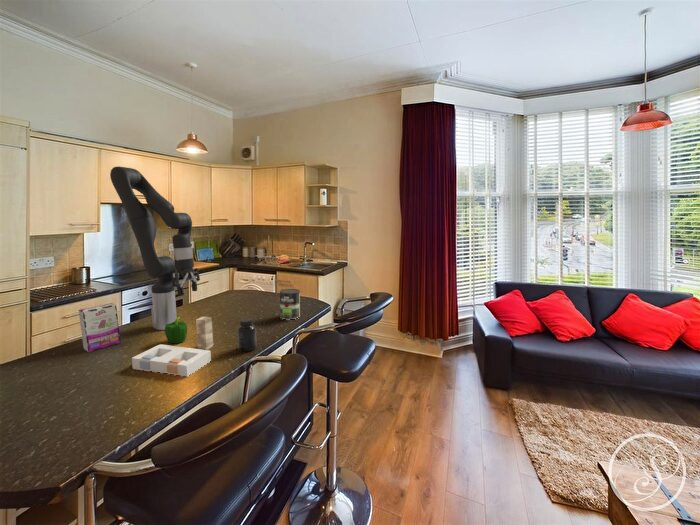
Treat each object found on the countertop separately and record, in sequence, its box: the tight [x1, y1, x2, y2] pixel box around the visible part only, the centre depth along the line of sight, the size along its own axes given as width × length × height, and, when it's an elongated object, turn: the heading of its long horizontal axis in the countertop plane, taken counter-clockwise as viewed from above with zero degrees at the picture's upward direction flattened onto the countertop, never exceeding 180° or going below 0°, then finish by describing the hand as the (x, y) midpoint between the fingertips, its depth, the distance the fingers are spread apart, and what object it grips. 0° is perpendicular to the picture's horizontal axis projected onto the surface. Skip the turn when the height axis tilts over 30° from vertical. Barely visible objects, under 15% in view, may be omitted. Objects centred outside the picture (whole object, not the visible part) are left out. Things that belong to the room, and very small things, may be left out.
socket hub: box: [131, 344, 212, 378], centre depth 113 cm, size 22×12×4 cm, turn 77°
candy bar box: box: [78, 302, 121, 353], centre depth 127 cm, size 11×5×16 cm, turn 148°
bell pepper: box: [164, 316, 188, 344], centre depth 133 cm, size 8×8×10 cm
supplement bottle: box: [237, 317, 258, 353], centre depth 127 cm, size 7×7×12 cm
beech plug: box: [195, 316, 214, 350], centre depth 128 cm, size 4×4×12 cm
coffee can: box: [279, 288, 301, 321], centre depth 166 cm, size 10×10×14 cm
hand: (188, 293), depth 145 cm, fingers open, 8 cm apart
